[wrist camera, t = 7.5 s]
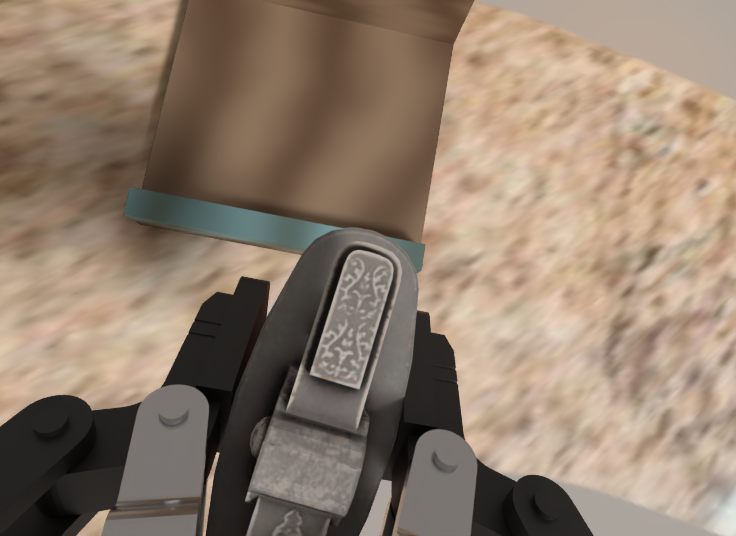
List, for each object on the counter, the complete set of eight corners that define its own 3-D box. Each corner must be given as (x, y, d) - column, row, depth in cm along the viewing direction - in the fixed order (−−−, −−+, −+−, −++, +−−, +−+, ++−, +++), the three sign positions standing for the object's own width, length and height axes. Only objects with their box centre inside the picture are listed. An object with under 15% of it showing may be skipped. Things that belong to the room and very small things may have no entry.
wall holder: (140, 224, 28) (11, 148, 16) (202, -26, 30) (127, -252, 19) (412, 275, 29) (476, 239, 18) (452, 31, 32) (533, -147, 20)
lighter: (325, 508, 17) (344, 761, 7) (230, 481, 17) (110, 703, 7) (392, 284, 18) (489, 232, 8) (304, 256, 18) (293, 167, 8)
